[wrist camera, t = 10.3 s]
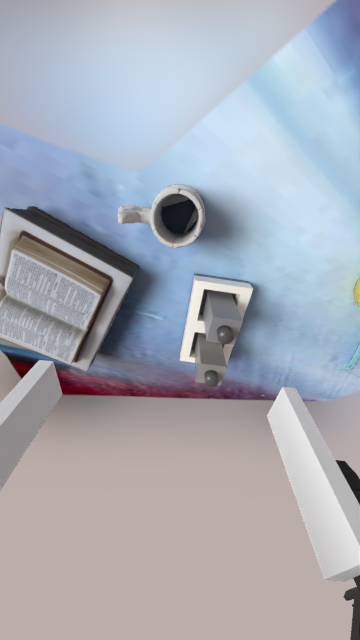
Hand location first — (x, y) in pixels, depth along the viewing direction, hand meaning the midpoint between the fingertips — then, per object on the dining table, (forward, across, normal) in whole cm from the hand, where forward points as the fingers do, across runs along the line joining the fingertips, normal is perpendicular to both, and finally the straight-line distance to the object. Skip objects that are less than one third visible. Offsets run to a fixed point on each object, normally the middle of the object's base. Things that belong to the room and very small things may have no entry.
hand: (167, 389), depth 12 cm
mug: (+28, -3, +7) cm, 29 cm away
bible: (+29, -21, -9) cm, 37 cm away
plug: (+27, +7, -7) cm, 29 cm away
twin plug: (+27, +7, -16) cm, 32 cm away
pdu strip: (+28, +7, -11) cm, 31 cm away
